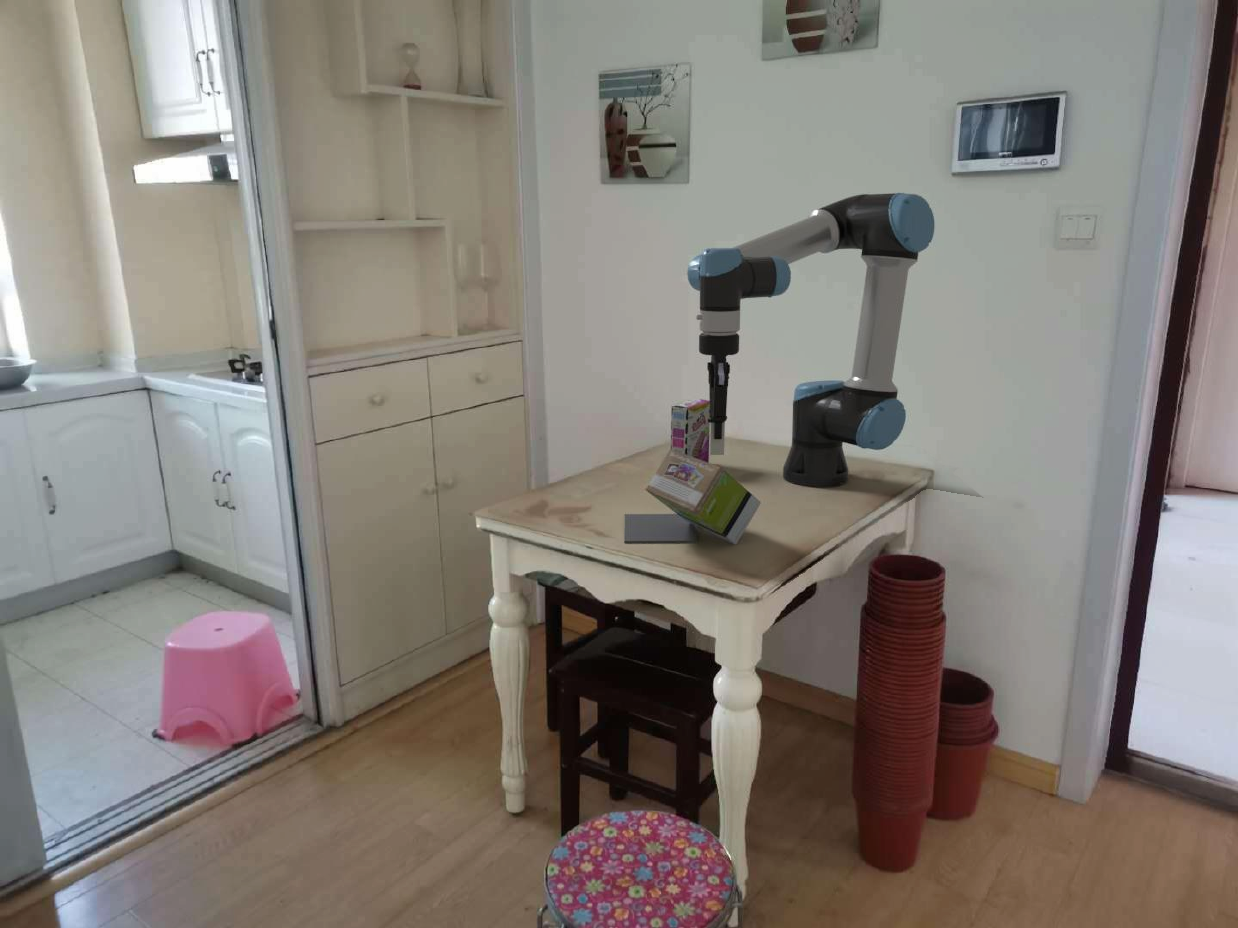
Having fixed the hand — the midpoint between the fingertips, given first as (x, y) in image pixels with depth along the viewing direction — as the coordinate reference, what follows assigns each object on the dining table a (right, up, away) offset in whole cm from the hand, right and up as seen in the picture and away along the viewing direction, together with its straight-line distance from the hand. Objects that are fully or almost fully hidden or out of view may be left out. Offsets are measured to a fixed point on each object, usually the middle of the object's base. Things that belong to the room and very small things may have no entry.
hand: (716, 453), depth 178 cm
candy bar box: (-1, -3, +49) cm, 49 cm away
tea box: (+2, -12, +2) cm, 12 cm away
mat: (-11, -15, +5) cm, 19 cm away
